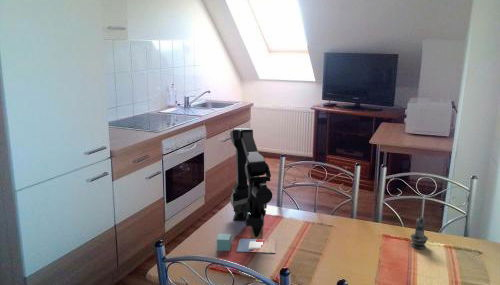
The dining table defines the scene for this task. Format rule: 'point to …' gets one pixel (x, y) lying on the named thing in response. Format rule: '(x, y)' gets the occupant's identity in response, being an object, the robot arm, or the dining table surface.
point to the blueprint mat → (248, 245)
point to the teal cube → (224, 242)
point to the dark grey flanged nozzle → (419, 235)
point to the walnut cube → (254, 235)
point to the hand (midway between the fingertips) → (256, 233)
